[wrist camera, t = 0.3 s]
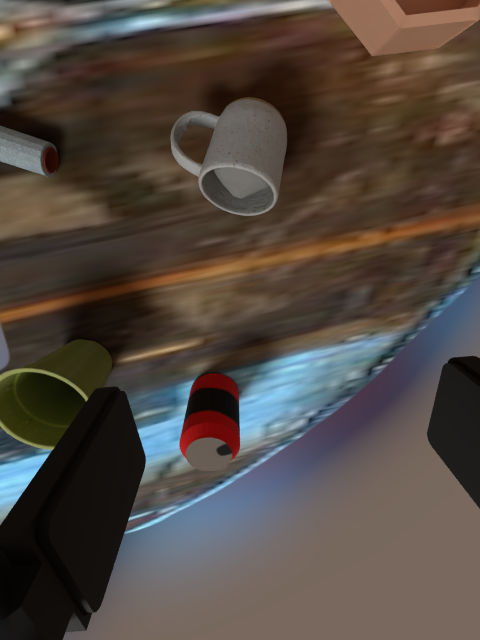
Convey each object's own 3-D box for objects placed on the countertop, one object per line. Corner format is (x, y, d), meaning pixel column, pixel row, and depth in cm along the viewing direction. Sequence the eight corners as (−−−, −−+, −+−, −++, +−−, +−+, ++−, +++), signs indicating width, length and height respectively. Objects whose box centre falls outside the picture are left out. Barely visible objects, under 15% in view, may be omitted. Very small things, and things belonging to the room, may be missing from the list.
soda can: (245, 401, 47) (249, 465, 36) (203, 416, 48) (194, 483, 37) (226, 365, 44) (224, 423, 33) (182, 381, 45) (166, 443, 34)
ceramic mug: (261, 160, 34) (309, 123, 28) (245, 223, 33) (292, 200, 27) (178, 100, 29) (214, 37, 22) (156, 175, 28) (188, 131, 21)
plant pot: (60, 308, 40) (0, 350, 30) (140, 347, 43) (111, 397, 32) (35, 371, 44) (-25, 426, 34) (110, 402, 47) (76, 463, 36)
